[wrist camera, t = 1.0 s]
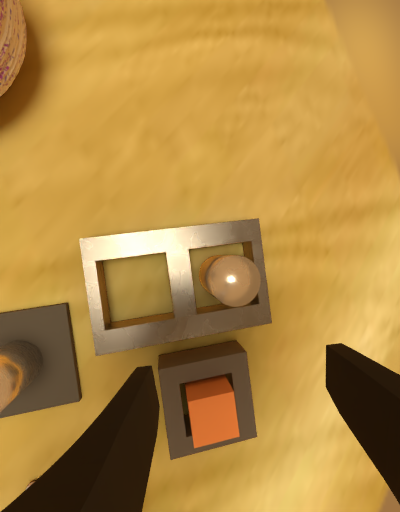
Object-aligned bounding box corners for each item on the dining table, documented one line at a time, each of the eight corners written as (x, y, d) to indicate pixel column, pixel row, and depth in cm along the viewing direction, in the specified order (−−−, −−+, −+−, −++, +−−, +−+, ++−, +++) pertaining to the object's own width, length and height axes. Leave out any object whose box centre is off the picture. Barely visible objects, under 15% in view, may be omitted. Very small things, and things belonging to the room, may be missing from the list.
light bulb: (239, 291, 25) (263, 302, 19) (201, 297, 24) (214, 310, 19) (234, 253, 25) (257, 252, 19) (196, 258, 24) (208, 259, 18)
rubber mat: (81, 397, 23) (79, 401, 22) (-27, 420, 21) (-32, 425, 21) (68, 302, 22) (65, 304, 22) (-43, 319, 21) (-49, 321, 20)
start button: (229, 413, 23) (239, 436, 20) (189, 422, 22) (194, 448, 19) (224, 373, 23) (233, 391, 20) (184, 382, 22) (188, 401, 19)
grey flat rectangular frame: (260, 316, 25) (271, 322, 23) (102, 345, 23) (95, 356, 20) (249, 222, 25) (258, 218, 23) (88, 240, 23) (79, 238, 20)
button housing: (245, 415, 25) (257, 436, 22) (169, 434, 24) (170, 459, 21) (236, 340, 25) (246, 351, 22) (158, 355, 24) (158, 369, 21)
